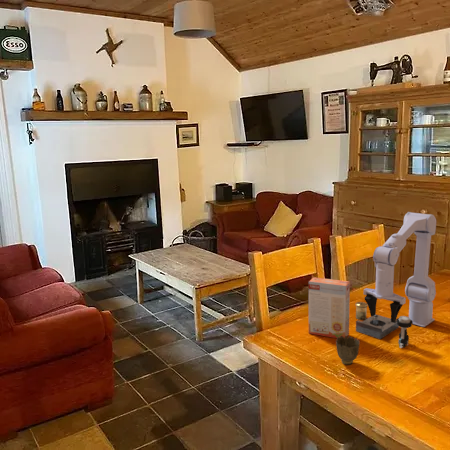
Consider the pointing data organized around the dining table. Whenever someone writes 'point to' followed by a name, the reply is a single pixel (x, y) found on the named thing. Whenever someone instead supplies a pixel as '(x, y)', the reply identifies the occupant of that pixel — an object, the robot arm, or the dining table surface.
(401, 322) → the push button
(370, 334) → the jig
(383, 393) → the dining table surface
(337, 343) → the cup
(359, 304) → the brass door knob
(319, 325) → the cracker box
